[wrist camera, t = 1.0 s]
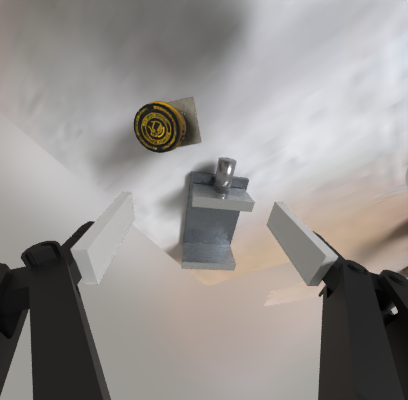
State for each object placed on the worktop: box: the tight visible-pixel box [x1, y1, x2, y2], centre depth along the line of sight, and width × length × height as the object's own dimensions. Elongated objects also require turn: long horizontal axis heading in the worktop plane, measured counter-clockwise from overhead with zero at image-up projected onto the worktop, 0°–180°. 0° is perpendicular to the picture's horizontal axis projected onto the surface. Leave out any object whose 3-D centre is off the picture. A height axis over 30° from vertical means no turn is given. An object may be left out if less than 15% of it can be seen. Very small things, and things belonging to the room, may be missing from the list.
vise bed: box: [182, 171, 249, 270], centre depth 35 cm, size 20×12×7 cm, turn 172°
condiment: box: [134, 97, 201, 153], centre depth 23 cm, size 7×8×12 cm
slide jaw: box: [192, 158, 255, 212], centre depth 29 cm, size 8×11×6 cm
